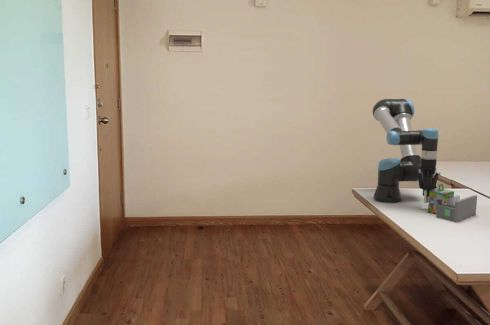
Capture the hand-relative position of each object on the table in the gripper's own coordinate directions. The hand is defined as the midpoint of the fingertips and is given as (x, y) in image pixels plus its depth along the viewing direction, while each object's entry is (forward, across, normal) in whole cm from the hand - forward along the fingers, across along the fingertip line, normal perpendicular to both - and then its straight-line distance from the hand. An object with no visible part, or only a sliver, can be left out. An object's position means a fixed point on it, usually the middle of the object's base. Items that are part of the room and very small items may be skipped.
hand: (426, 202), depth 243 cm
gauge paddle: (+3, +14, -1) cm, 14 cm away
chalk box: (+4, +8, 0) cm, 9 cm away
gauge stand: (+4, +16, 0) cm, 17 cm away
